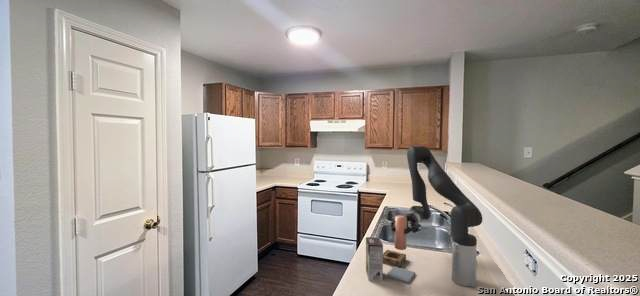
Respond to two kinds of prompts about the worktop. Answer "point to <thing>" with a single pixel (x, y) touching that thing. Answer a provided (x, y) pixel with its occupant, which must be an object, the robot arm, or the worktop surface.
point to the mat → (400, 274)
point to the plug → (400, 232)
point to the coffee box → (374, 259)
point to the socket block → (394, 258)
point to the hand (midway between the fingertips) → (399, 230)
